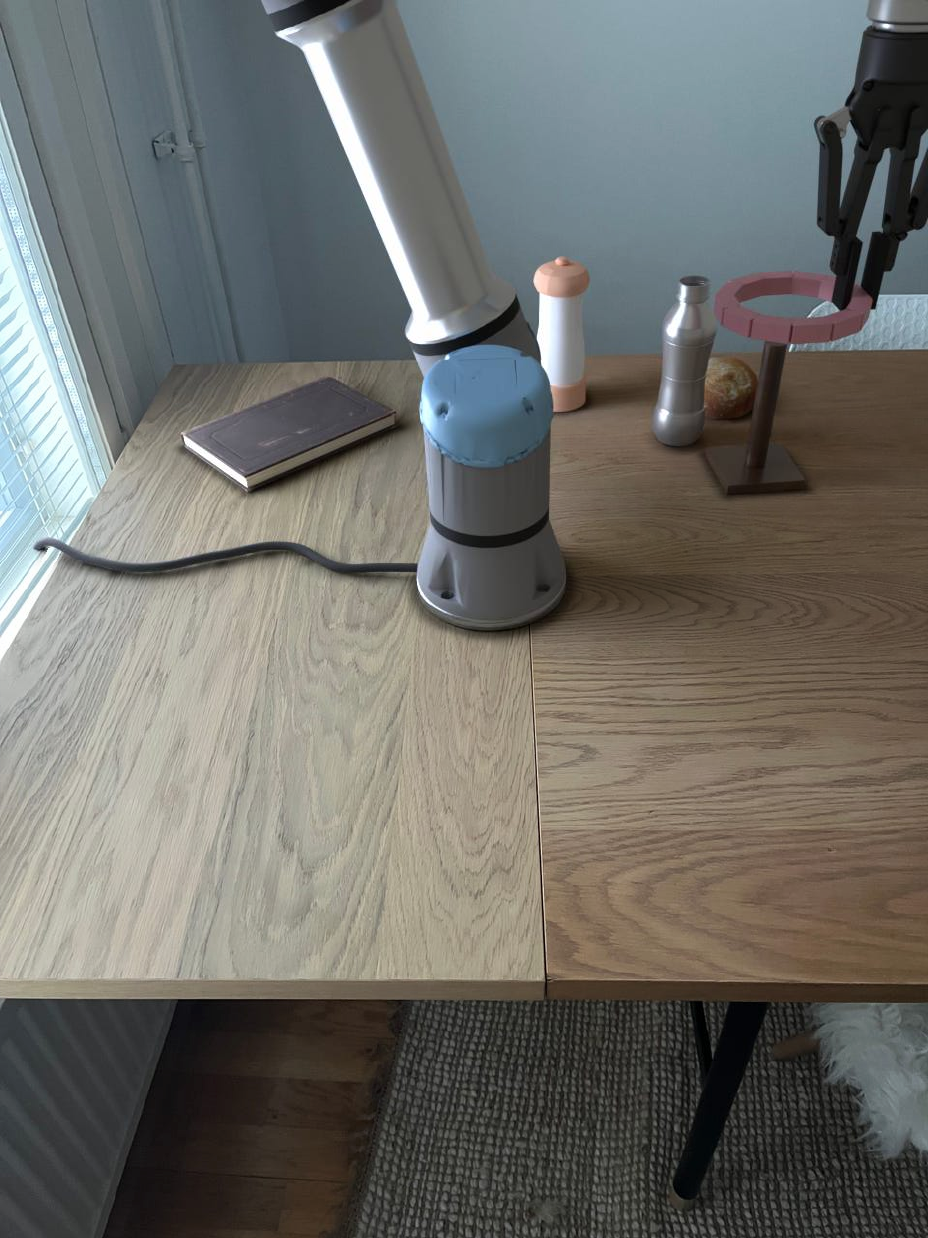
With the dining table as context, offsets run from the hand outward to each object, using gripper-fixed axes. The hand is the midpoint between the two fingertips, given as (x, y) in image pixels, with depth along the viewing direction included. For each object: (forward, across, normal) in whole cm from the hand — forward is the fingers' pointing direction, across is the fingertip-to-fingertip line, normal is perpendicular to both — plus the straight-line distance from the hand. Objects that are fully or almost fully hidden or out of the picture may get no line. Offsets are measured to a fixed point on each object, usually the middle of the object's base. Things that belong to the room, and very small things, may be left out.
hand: (853, 304), depth 93 cm
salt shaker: (+23, -25, +29) cm, 44 cm away
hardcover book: (+22, -61, +23) cm, 69 cm away
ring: (+1, -6, 0) cm, 6 cm away
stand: (+23, -4, +7) cm, 24 cm away
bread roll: (+23, -4, +25) cm, 34 cm away
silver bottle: (+23, -12, +16) cm, 30 cm away
